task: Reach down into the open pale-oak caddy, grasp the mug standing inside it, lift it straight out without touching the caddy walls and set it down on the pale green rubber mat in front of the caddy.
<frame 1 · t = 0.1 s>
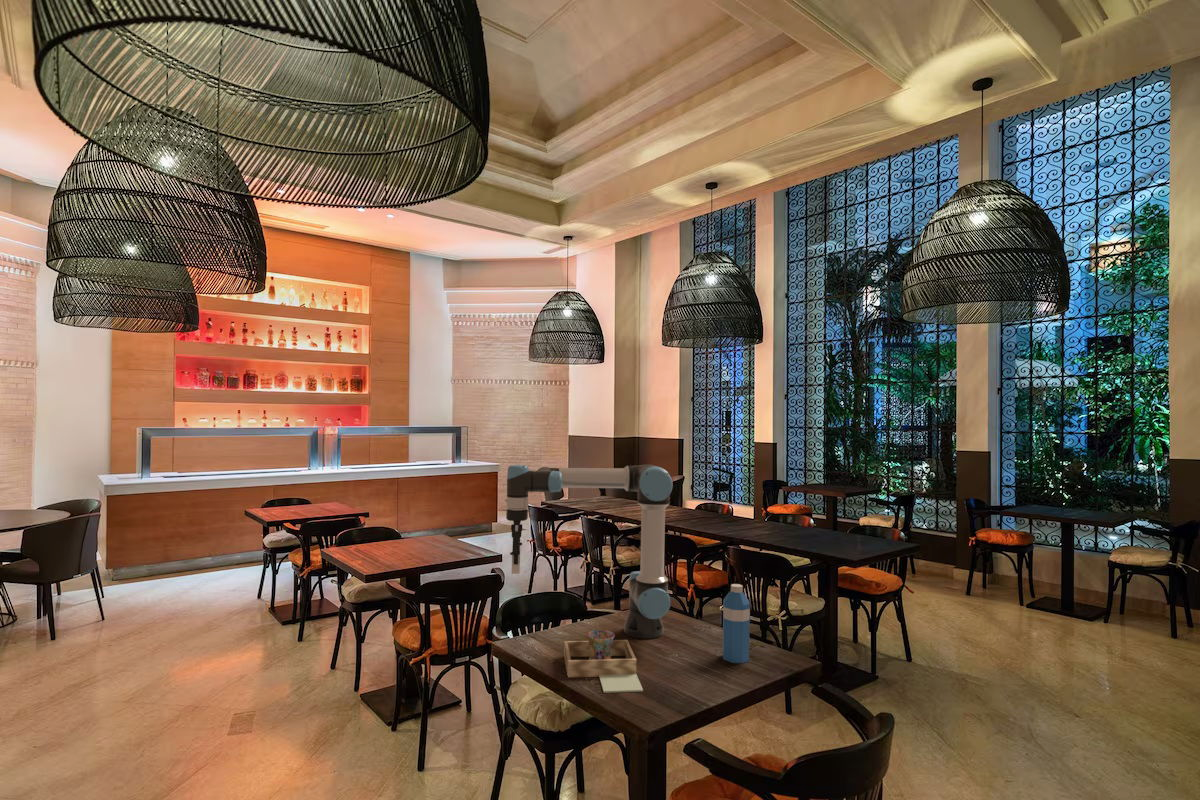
hand: (515, 568, 229), 28 cm above the table, fingers open, 13 cm apart
mat: (620, 683, 200), on the table
mug: (598, 666, 215), resting in caddy
water bottle: (735, 658, 223), on the table
caddy: (598, 665, 215), on the table
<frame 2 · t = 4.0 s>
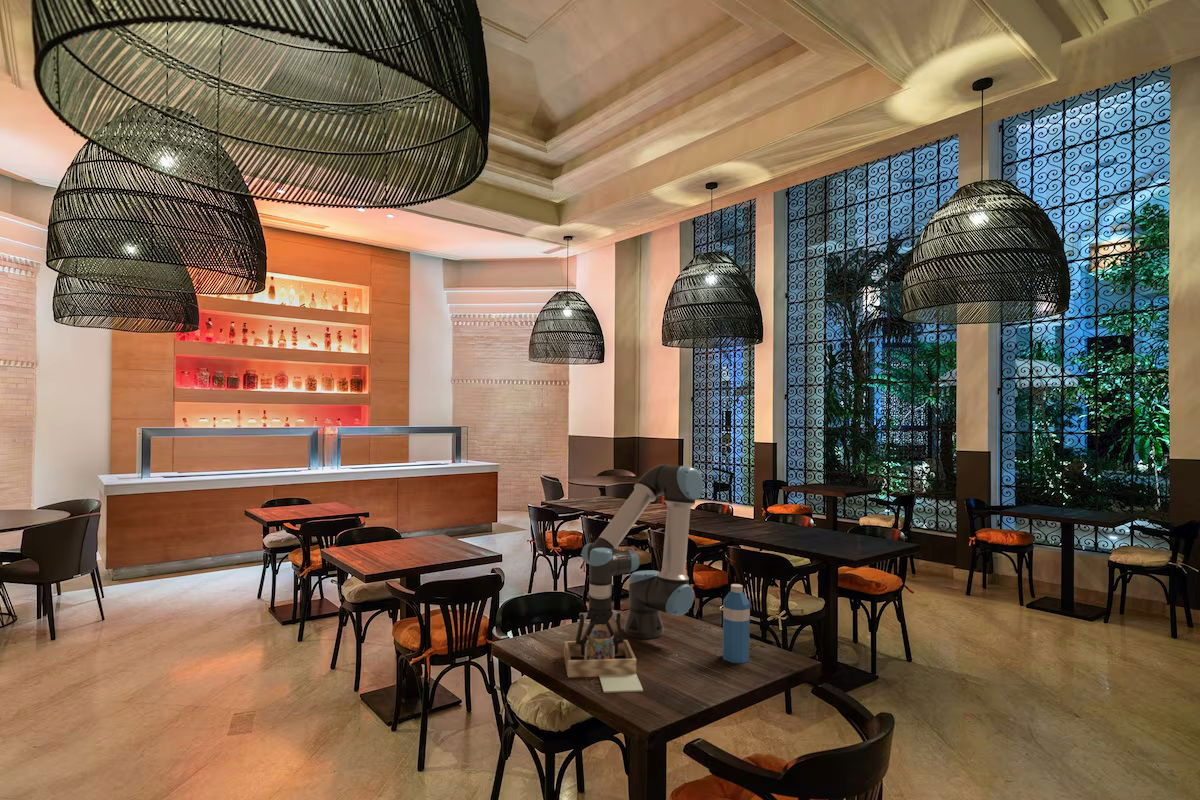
hand: (599, 664, 215), 0 cm above the table, fingers closed on mug, 8 cm apart
mug: (598, 665, 215), resting in caddy, touching gripper
everything else where it was.
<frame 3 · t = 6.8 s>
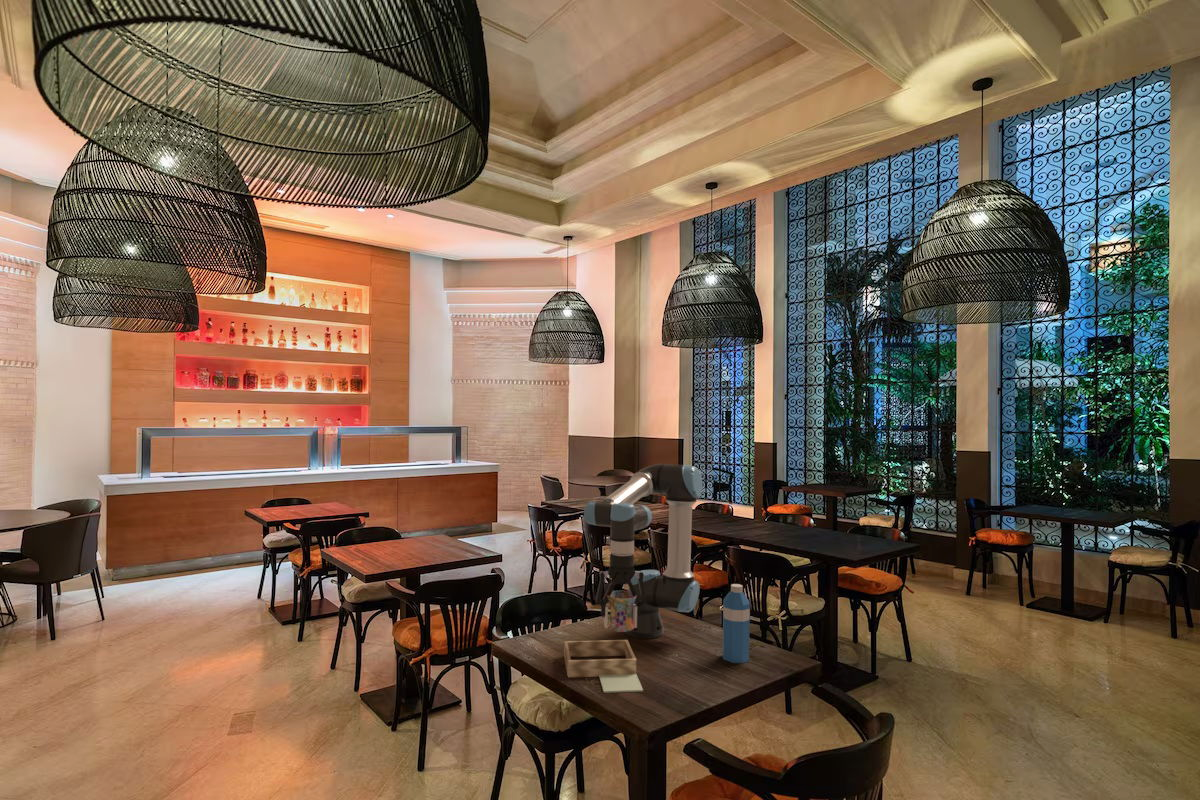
hand: (620, 626, 201), 18 cm above the table, fingers closed on mug, 8 cm apart
mug: (619, 628, 201), point 17 cm above the table, touching gripper
everything else where it was.
when the fingers open (2 cm above the table, at t = 9.6 s): mug drops 2 cm, resting on mat.
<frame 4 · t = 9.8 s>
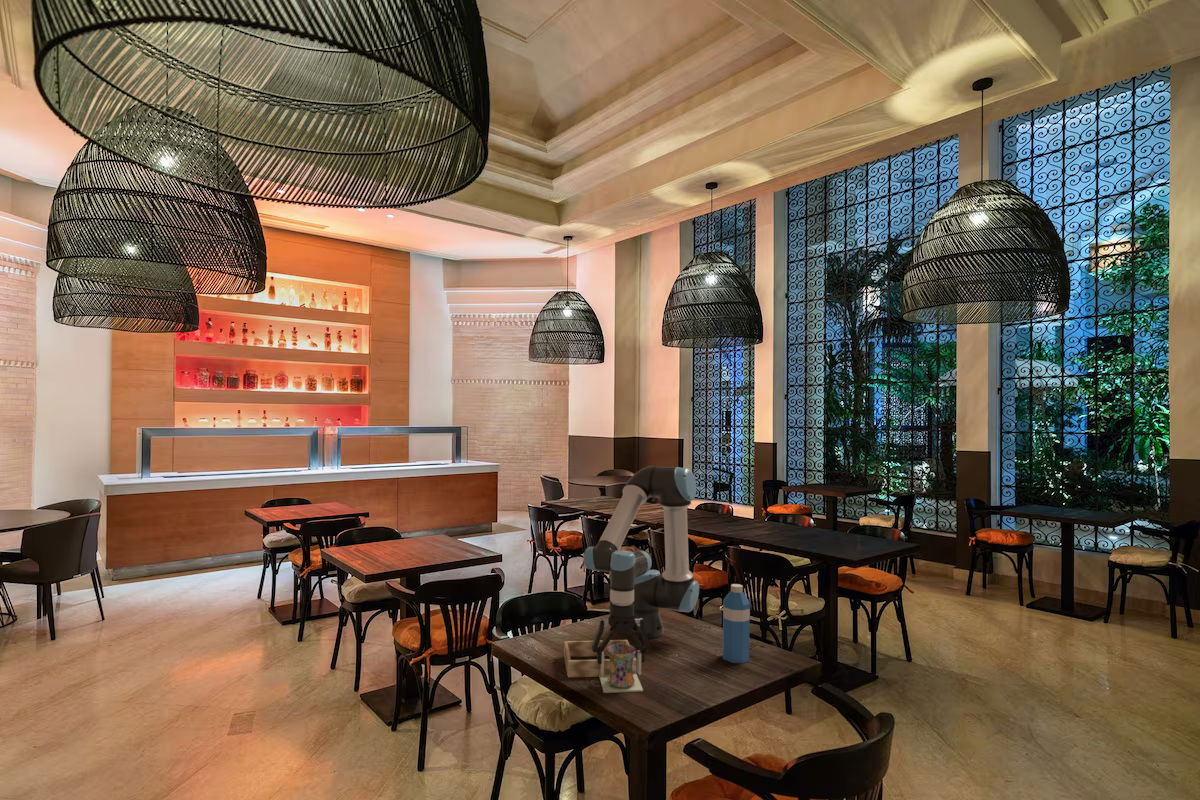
hand: (620, 673, 200), 3 cm above the table, fingers open, 11 cm apart
mug: (619, 682, 200), resting on mat
everything else where it was.
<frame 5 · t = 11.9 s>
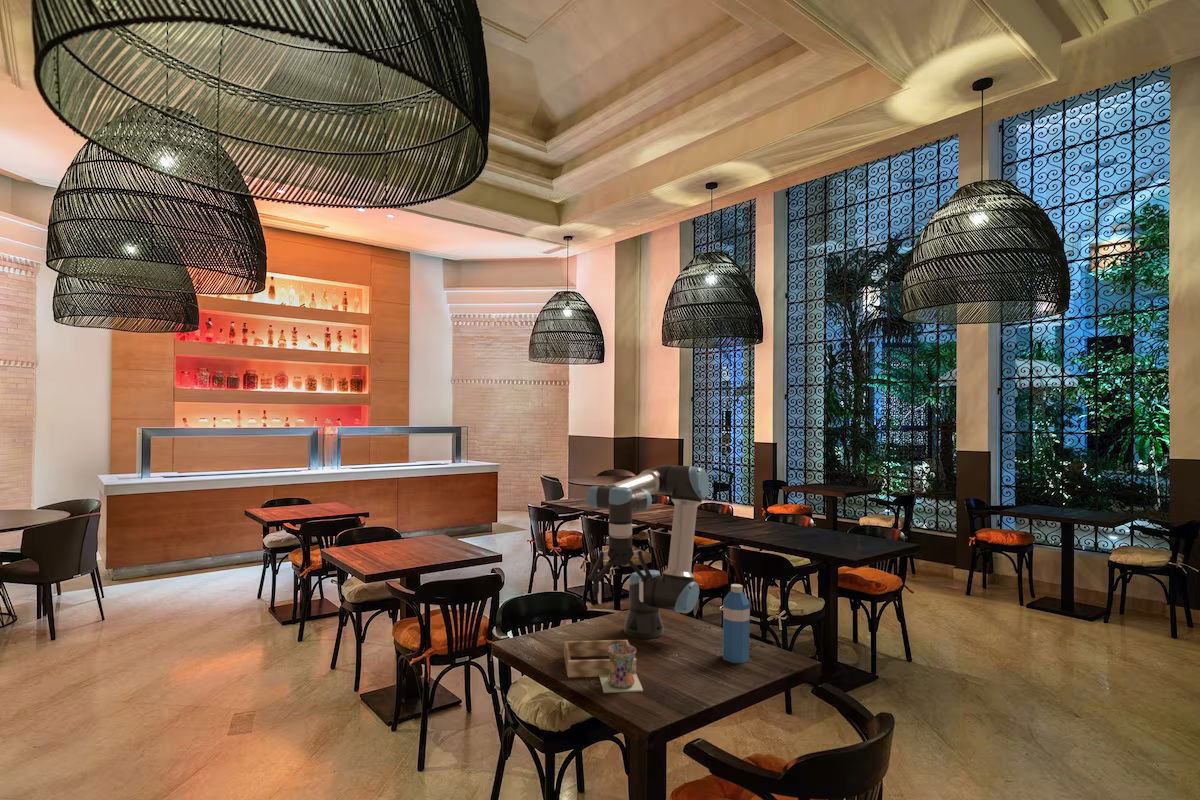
hand: (620, 601, 208), 23 cm above the table, fingers open, 13 cm apart
nothing on the table moved.
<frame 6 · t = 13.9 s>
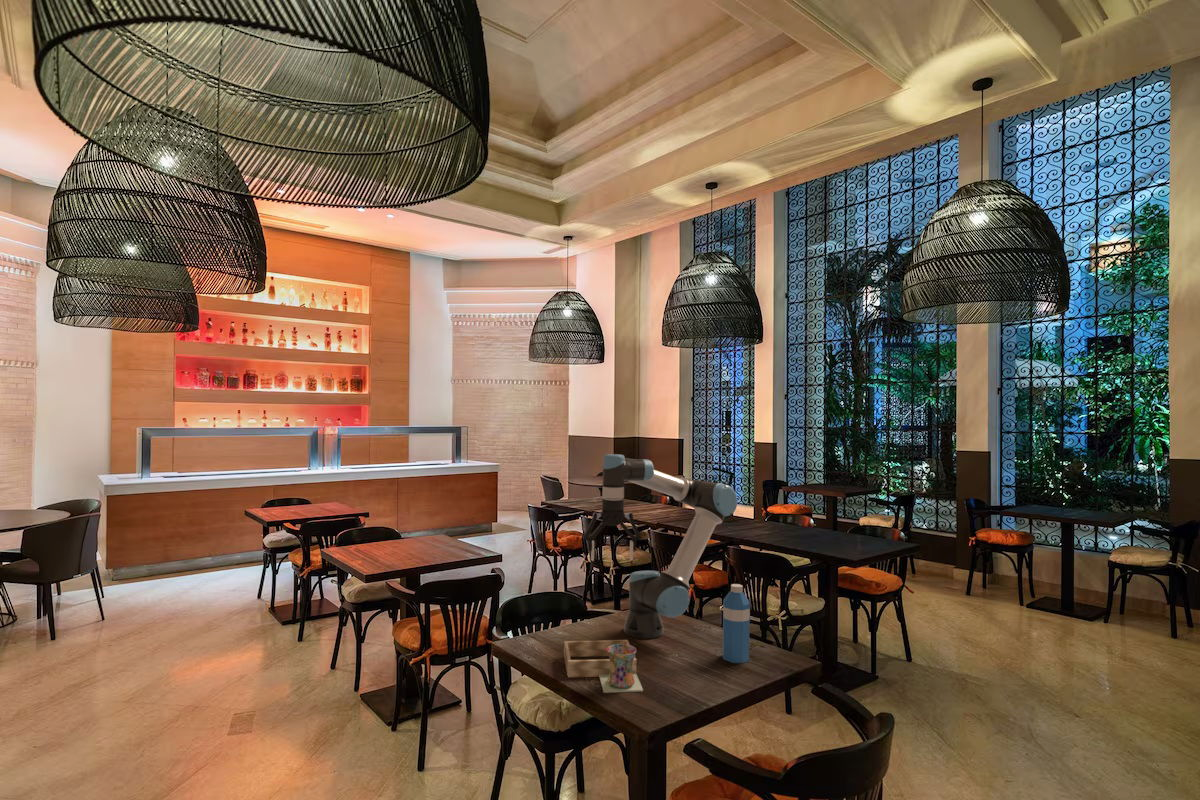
hand: (611, 560, 225), 33 cm above the table, fingers open, 13 cm apart
nothing on the table moved.
at the end: mug inside the target area on the mat (0.3 cm from its centre), point 0.3 cm above the mat's base; mug tilted 0°; the gripper is holding nothing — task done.
